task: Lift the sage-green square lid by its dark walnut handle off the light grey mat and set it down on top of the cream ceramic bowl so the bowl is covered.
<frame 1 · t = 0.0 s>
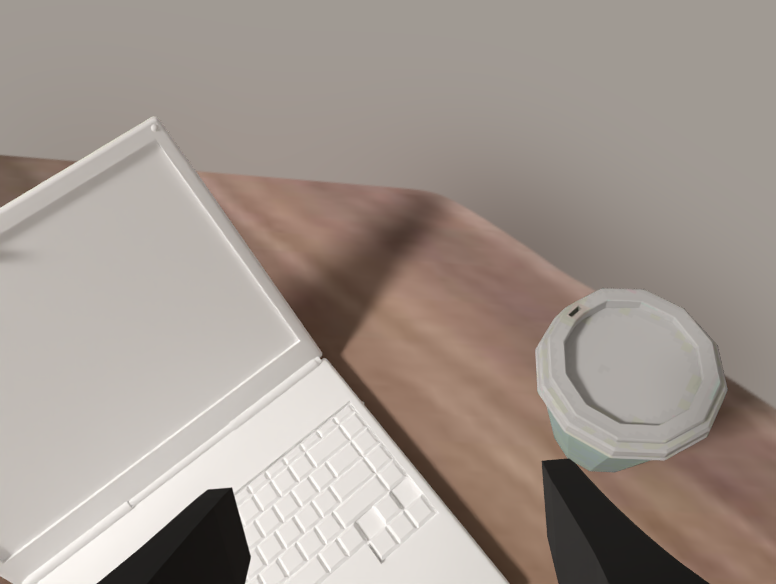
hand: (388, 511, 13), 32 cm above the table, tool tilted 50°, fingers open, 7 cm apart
laptop: (227, 529, 45), on the table
disposable coffee cup: (592, 435, 44), on the table
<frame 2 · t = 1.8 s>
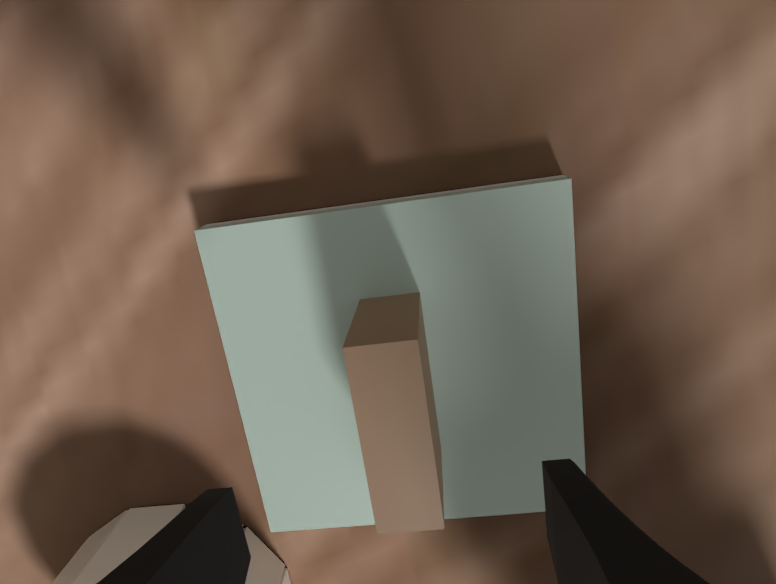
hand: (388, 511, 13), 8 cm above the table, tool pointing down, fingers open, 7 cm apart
lid: (402, 370, 20), resting on mat
mat: (403, 364, 20), on the table
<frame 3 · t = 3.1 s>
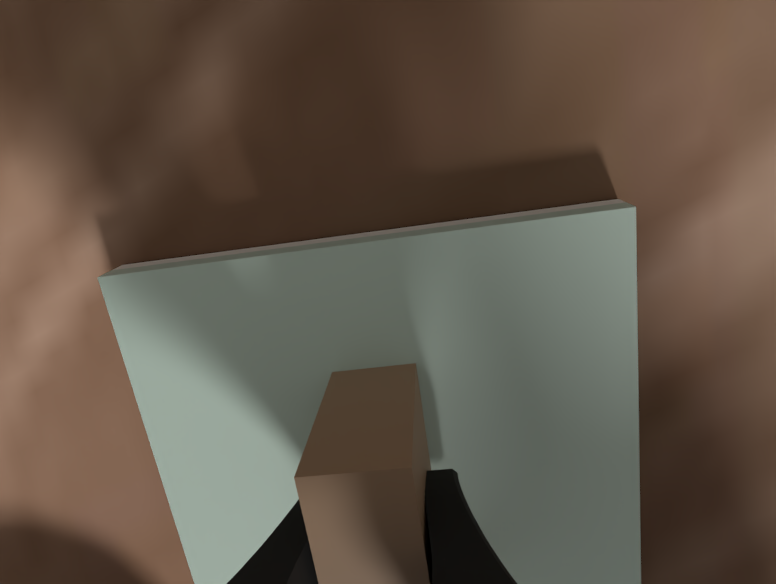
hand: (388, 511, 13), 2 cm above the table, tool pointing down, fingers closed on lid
lid: (393, 461, 14), resting on mat, touching gripper
mat: (394, 450, 15), on the table
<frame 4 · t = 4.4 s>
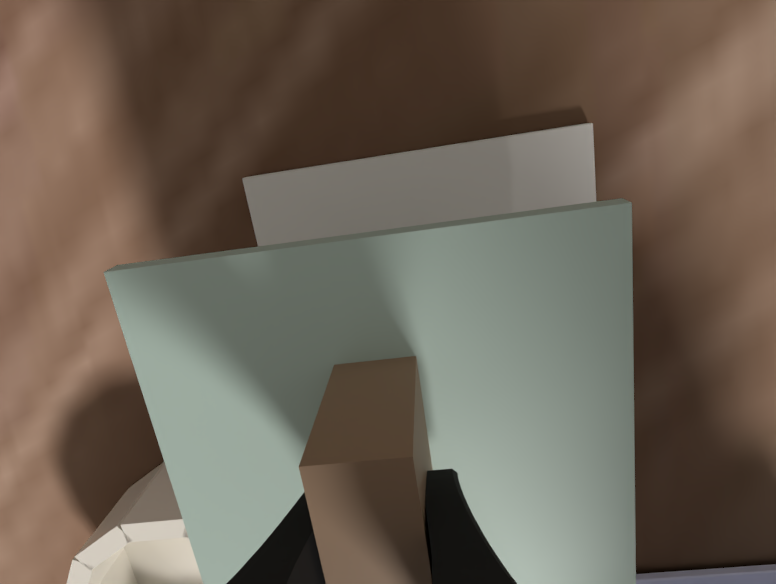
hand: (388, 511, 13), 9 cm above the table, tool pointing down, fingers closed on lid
lid: (394, 451, 15), point 7 cm above the table, touching gripper
bowl: (222, 546, 25), on the table
mat: (434, 311, 21), on the table
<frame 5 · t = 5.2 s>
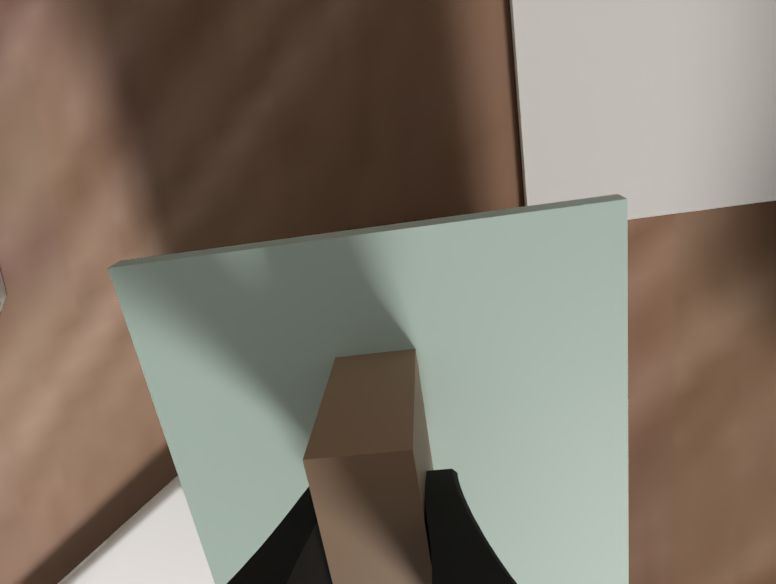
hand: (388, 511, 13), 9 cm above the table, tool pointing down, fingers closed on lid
lid: (394, 440, 15), point 7 cm above the table, touching gripper
mat: (706, 18, 17), on the table
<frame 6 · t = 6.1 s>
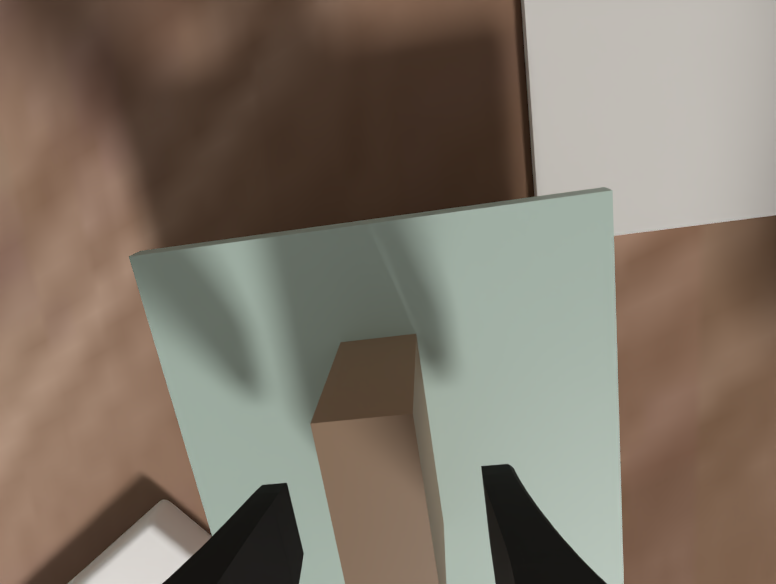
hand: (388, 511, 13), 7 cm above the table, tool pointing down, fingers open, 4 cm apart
lid: (395, 426, 16), point 4 cm above the table, touching bowl
mat: (740, 6, 16), on the table
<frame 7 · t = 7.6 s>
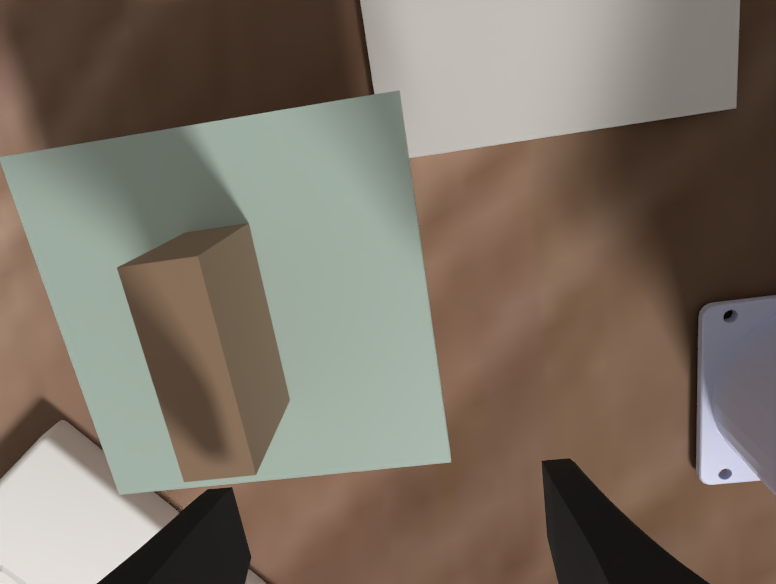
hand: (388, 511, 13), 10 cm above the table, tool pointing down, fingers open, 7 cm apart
lid: (245, 313, 18), point 4 cm above the table, touching bowl
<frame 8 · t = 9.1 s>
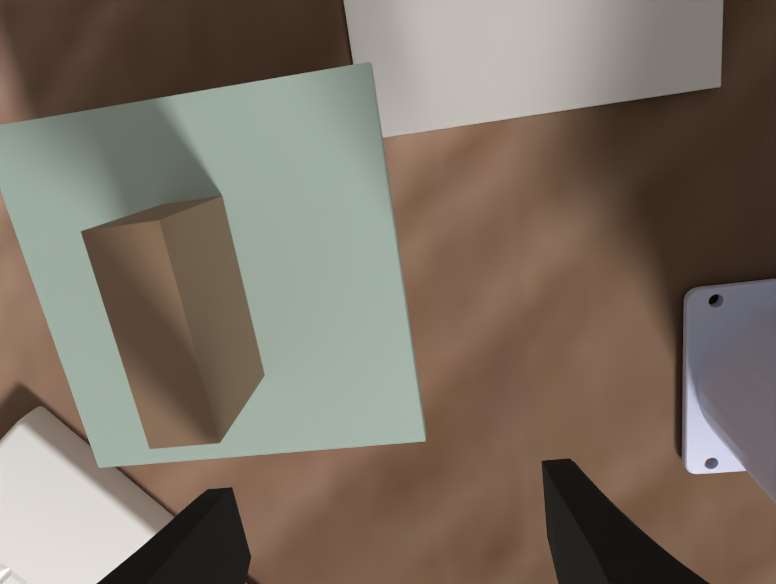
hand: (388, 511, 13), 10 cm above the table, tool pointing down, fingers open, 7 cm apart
lid: (221, 288, 18), point 4 cm above the table, touching bowl
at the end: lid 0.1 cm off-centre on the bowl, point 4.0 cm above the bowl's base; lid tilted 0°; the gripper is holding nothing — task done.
